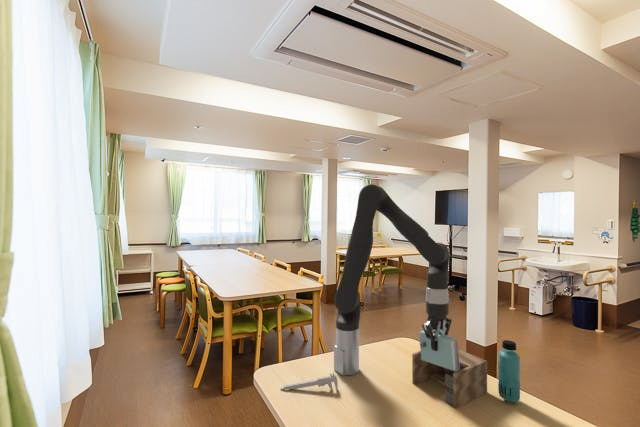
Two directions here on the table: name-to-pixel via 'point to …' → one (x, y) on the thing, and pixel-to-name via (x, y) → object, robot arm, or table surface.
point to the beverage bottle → (509, 372)
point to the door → (440, 351)
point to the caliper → (315, 383)
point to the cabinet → (454, 377)
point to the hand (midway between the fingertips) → (437, 349)
